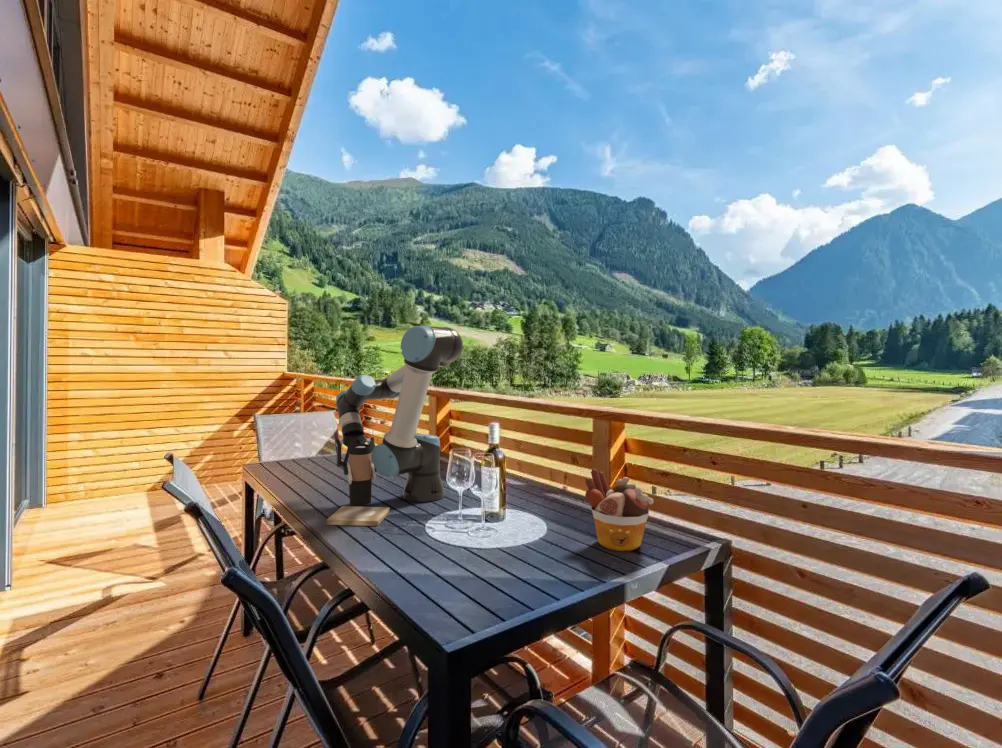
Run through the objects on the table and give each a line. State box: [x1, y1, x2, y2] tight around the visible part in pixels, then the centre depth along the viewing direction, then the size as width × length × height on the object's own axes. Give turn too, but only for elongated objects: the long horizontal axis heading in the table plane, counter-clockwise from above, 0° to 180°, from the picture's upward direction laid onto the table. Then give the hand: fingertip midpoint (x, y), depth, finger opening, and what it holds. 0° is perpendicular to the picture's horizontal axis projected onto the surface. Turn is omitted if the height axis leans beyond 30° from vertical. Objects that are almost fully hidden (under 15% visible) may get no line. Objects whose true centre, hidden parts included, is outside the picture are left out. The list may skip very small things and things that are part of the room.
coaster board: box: [326, 505, 390, 527], centre depth 163 cm, size 16×14×2 cm
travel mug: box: [348, 443, 373, 507], centre depth 177 cm, size 8×8×20 cm
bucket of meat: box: [584, 468, 654, 552], centre depth 143 cm, size 20×16×20 cm
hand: (362, 480), depth 174 cm, fingers closed on travel mug, 7 cm apart
